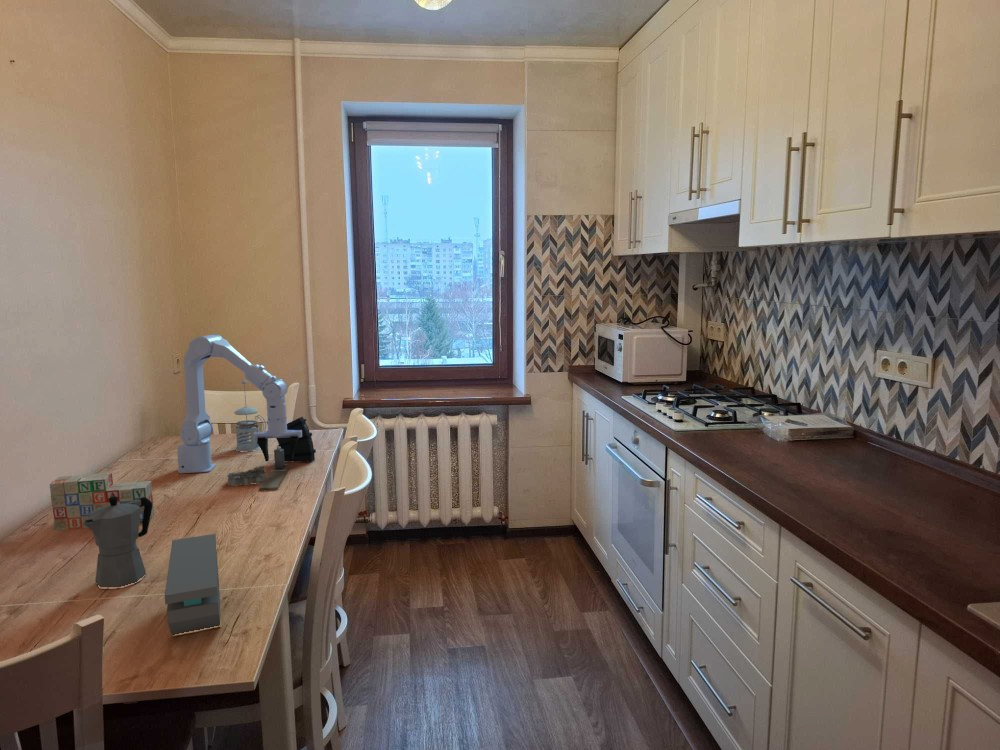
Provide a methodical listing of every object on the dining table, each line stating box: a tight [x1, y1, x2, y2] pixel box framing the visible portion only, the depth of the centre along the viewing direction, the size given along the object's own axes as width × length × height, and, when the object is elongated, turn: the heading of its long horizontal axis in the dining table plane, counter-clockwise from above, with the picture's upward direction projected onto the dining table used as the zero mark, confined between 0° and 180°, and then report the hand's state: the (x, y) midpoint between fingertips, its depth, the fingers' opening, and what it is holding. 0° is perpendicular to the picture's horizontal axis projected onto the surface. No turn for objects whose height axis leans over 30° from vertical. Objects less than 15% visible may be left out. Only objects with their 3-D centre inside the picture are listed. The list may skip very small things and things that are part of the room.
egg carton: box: [226, 465, 266, 487], centre depth 203 cm, size 11×8×4 cm
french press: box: [233, 379, 267, 452], centre depth 240 cm, size 10×12×25 cm
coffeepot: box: [83, 496, 154, 587], centre depth 139 cm, size 15×9×18 cm, turn 159°
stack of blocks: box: [49, 472, 155, 531], centre depth 171 cm, size 21×6×12 cm, turn 104°
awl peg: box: [273, 445, 286, 469], centre depth 214 cm, size 3×3×7 cm
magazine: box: [275, 416, 317, 463], centre depth 225 cm, size 4×13×15 cm, turn 83°
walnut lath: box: [259, 463, 291, 492], centre depth 207 cm, size 5×24×1 cm, turn 9°
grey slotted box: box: [164, 533, 221, 636], centre depth 123 cm, size 25×8×11 cm, turn 23°
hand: (279, 459), depth 215 cm, fingers open, 7 cm apart
